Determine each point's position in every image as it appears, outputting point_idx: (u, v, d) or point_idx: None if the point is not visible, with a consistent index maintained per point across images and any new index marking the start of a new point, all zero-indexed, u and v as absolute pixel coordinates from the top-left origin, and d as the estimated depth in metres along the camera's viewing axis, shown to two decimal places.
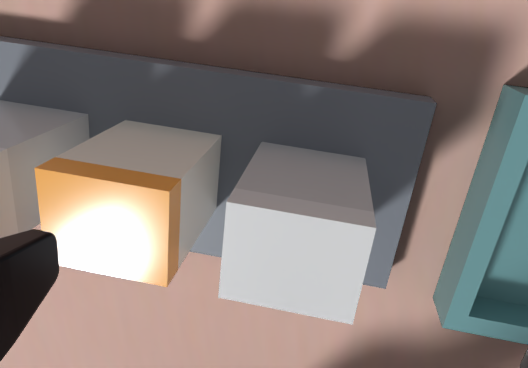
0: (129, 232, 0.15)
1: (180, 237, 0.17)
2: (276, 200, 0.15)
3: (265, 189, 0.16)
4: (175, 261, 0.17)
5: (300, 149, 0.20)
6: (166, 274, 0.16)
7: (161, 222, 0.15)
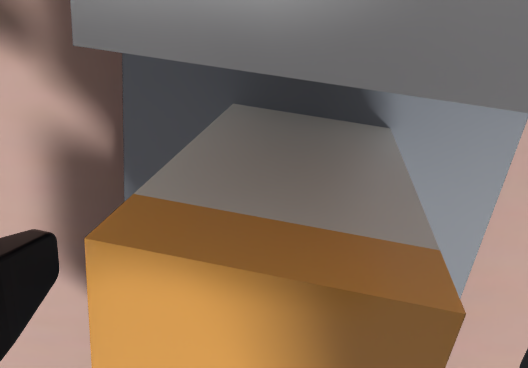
0: None
1: (324, 224, 0.06)
2: None
3: None
4: (393, 255, 0.05)
5: None
6: (405, 305, 0.04)
7: (195, 281, 0.05)
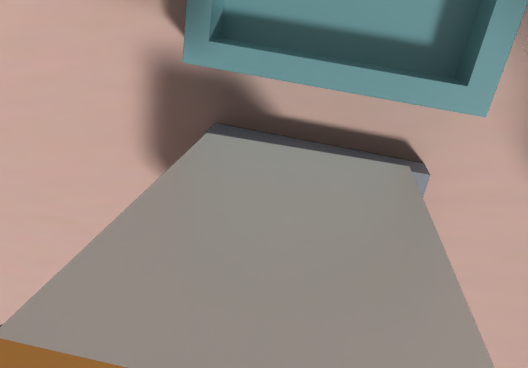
0: None
1: None
2: None
3: None
4: None
5: None
6: None
7: None
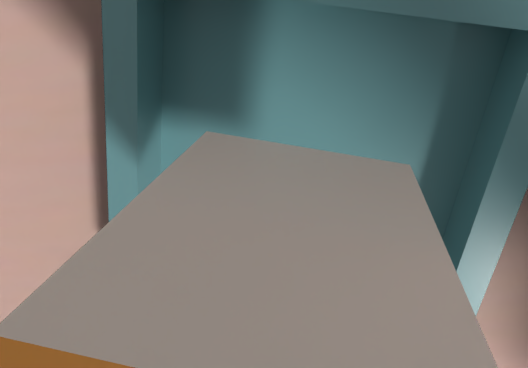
0: None
1: None
2: None
3: None
4: None
5: None
6: None
7: None
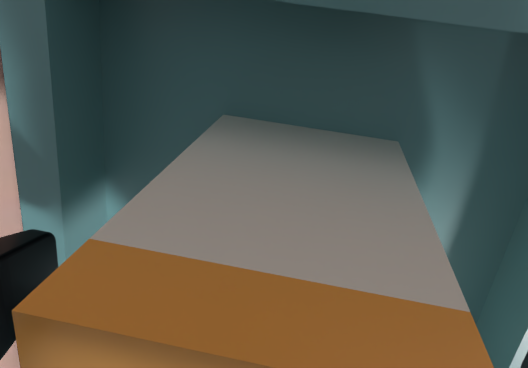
0: None
1: (326, 276, 0.04)
2: None
3: None
4: (413, 323, 0.04)
5: None
6: None
7: (156, 366, 0.04)
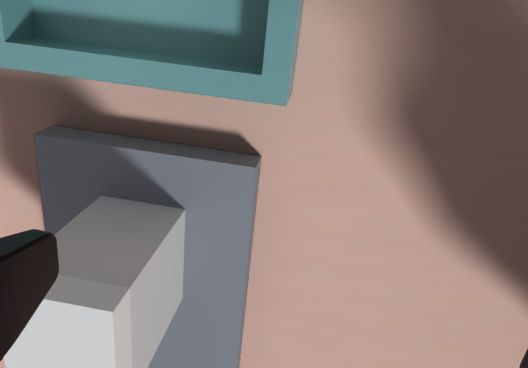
0: None
1: None
2: None
3: None
4: None
5: None
6: None
7: None
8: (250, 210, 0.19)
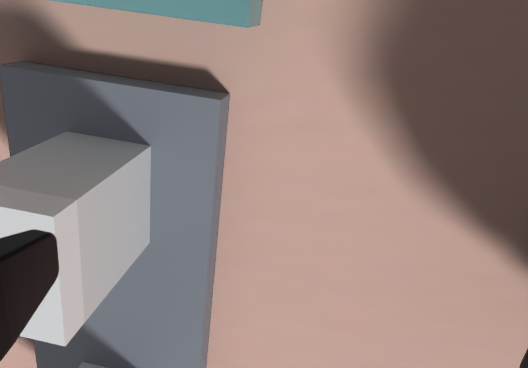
0: None
1: None
2: None
3: None
4: None
5: None
6: None
7: None
8: (216, 146, 0.18)
